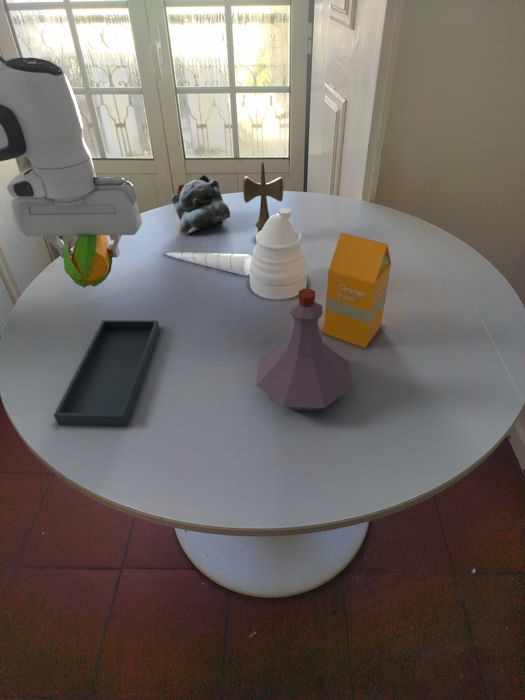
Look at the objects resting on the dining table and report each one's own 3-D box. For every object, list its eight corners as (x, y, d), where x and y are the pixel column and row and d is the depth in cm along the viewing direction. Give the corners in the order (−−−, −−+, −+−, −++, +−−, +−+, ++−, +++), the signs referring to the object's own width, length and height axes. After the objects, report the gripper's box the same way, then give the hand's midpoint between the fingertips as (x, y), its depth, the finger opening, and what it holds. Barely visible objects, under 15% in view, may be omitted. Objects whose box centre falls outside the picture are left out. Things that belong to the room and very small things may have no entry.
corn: (54, 259, 72) (67, 206, 87) (65, 300, 76) (76, 244, 91) (104, 255, 73) (109, 204, 88) (112, 296, 78) (116, 242, 93)
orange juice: (365, 349, 88) (379, 254, 75) (323, 334, 92) (329, 241, 79) (381, 327, 93) (396, 234, 80) (340, 314, 97) (349, 223, 84)
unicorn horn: (174, 249, 120) (171, 231, 117) (255, 270, 111) (254, 252, 108) (163, 257, 117) (159, 239, 114) (244, 280, 108) (243, 261, 105)
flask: (326, 351, 88) (334, 256, 75) (369, 413, 76) (387, 312, 63) (243, 372, 84) (236, 276, 71) (274, 440, 72) (272, 339, 59)
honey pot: (318, 282, 106) (322, 205, 95) (281, 307, 99) (281, 228, 88) (275, 264, 113) (274, 190, 101) (238, 286, 106) (232, 210, 94)
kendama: (247, 235, 125) (243, 158, 112) (283, 235, 124) (283, 158, 112) (245, 246, 120) (241, 167, 107) (283, 246, 120) (283, 167, 107)
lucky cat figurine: (175, 238, 125) (158, 185, 121) (188, 235, 136) (172, 187, 133) (228, 221, 122) (211, 167, 118) (237, 220, 133) (222, 170, 129)
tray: (58, 426, 76) (53, 415, 74) (105, 330, 95) (102, 320, 93) (126, 427, 75) (122, 416, 73) (160, 330, 94) (158, 320, 93)
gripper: (136, 169, 76) (152, 246, 85) (14, 172, 77) (42, 248, 86) (126, 184, 71) (144, 264, 80) (-4, 186, 72) (28, 265, 81)
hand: (90, 256), depth 83 cm, fingers closed on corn, 7 cm apart
